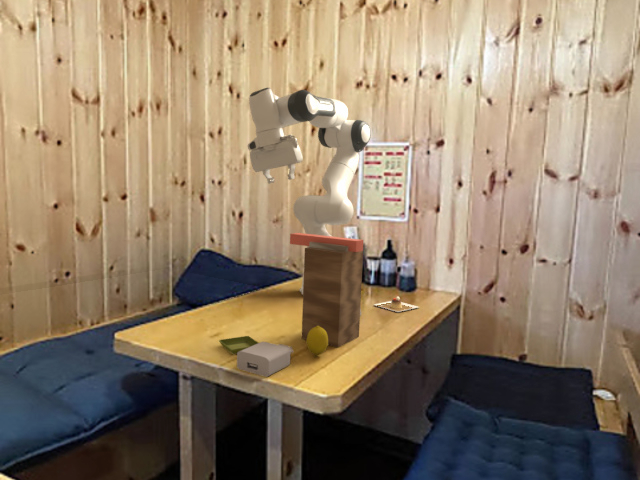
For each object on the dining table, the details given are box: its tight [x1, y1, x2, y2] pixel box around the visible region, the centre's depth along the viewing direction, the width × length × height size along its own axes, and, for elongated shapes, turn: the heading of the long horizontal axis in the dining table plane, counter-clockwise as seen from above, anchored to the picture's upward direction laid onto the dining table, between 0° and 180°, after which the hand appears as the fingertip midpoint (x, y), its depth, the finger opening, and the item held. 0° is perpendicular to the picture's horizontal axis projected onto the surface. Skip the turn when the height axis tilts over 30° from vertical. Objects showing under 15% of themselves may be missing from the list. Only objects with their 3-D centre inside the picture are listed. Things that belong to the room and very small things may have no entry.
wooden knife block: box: [301, 242, 364, 348], centre depth 141 cm, size 12×12×28 cm
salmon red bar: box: [289, 232, 364, 252], centre depth 141 cm, size 4×22×3 cm, turn 57°
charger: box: [236, 341, 294, 378], centre depth 121 cm, size 5×9×15 cm
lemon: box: [306, 326, 329, 357], centre depth 127 cm, size 6×6×8 cm
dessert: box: [372, 295, 420, 313], centre depth 181 cm, size 12×12×5 cm
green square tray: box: [218, 335, 259, 355], centre depth 131 cm, size 9×9×2 cm
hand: (281, 181), depth 164 cm, fingers open, 8 cm apart
